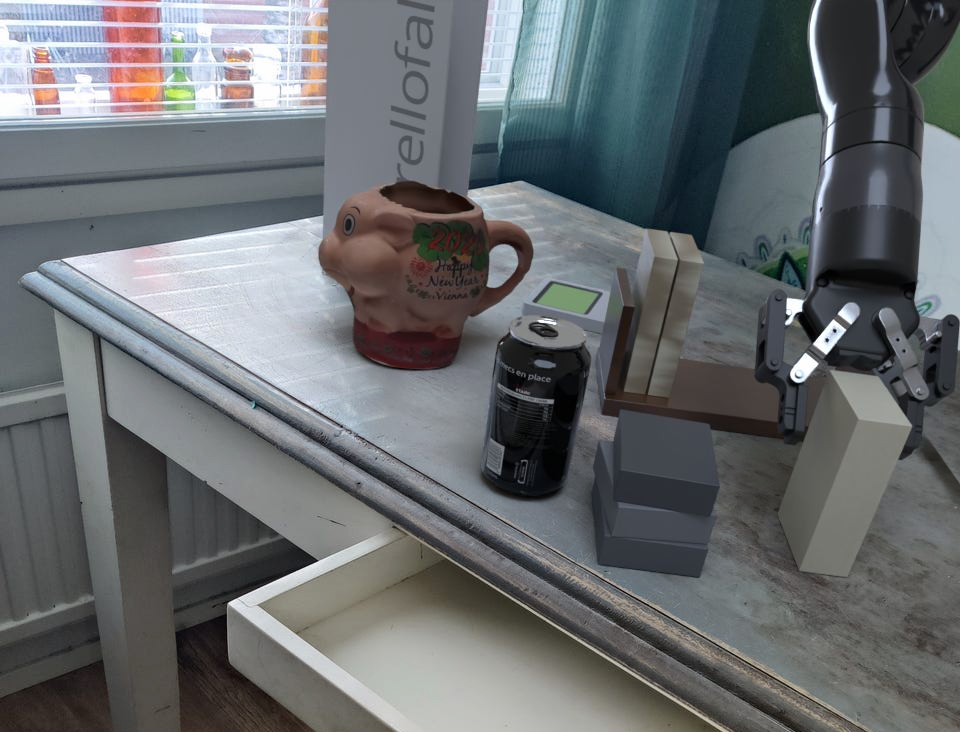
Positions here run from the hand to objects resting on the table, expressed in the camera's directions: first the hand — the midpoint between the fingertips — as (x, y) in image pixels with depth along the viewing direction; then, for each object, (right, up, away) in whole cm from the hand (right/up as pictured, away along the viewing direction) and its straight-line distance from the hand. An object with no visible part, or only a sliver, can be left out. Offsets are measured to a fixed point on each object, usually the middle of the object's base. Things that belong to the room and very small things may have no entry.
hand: (848, 448), depth 69 cm
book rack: (-3, +9, +24) cm, 25 cm away
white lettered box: (-36, +25, +37) cm, 57 cm away
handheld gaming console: (-13, +22, +38) cm, 46 cm away
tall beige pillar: (-1, -6, +5) cm, 8 cm away
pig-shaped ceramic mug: (-32, +14, +25) cm, 43 cm away
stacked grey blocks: (-14, -6, +3) cm, 15 cm away
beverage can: (-23, -1, +7) cm, 24 cm away
